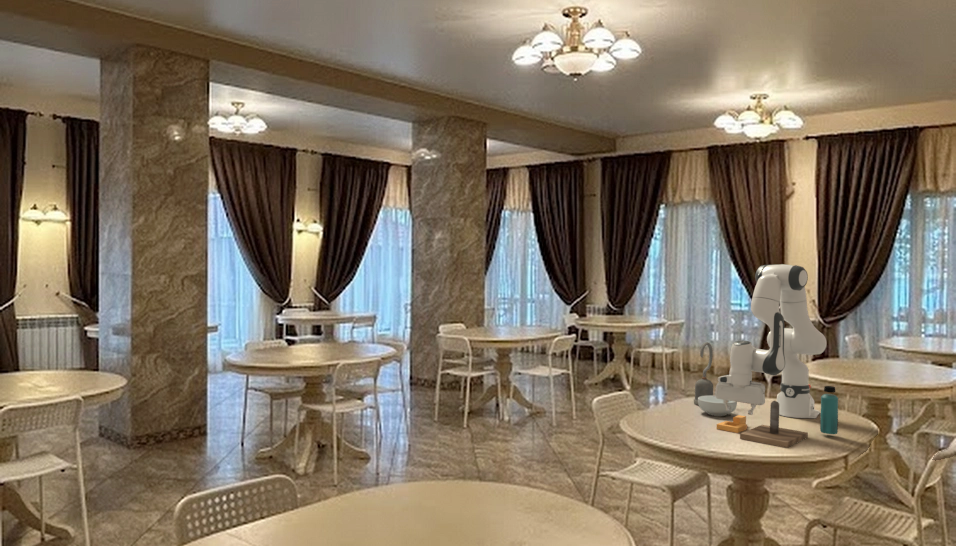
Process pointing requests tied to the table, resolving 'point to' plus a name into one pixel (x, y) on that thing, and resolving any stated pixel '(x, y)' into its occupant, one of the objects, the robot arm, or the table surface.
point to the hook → (704, 378)
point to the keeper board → (774, 438)
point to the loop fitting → (734, 424)
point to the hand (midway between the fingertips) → (739, 412)
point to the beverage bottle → (829, 412)
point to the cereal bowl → (715, 405)
